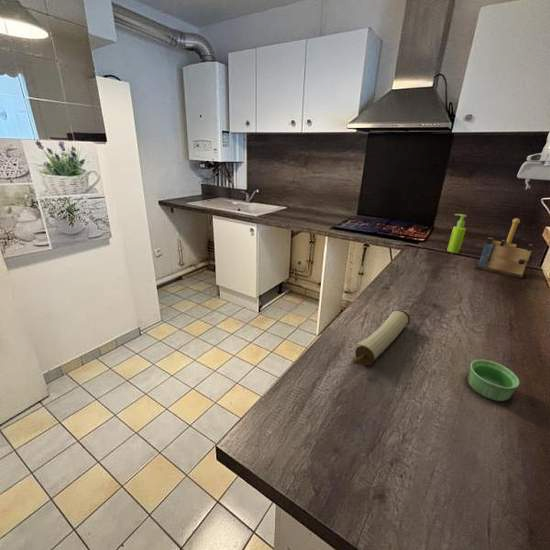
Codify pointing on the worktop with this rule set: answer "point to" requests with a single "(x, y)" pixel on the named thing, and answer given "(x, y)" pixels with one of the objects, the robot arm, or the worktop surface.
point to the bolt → (510, 234)
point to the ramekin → (492, 380)
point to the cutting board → (504, 259)
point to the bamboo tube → (381, 338)
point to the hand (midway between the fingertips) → (540, 190)
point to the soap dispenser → (457, 235)
